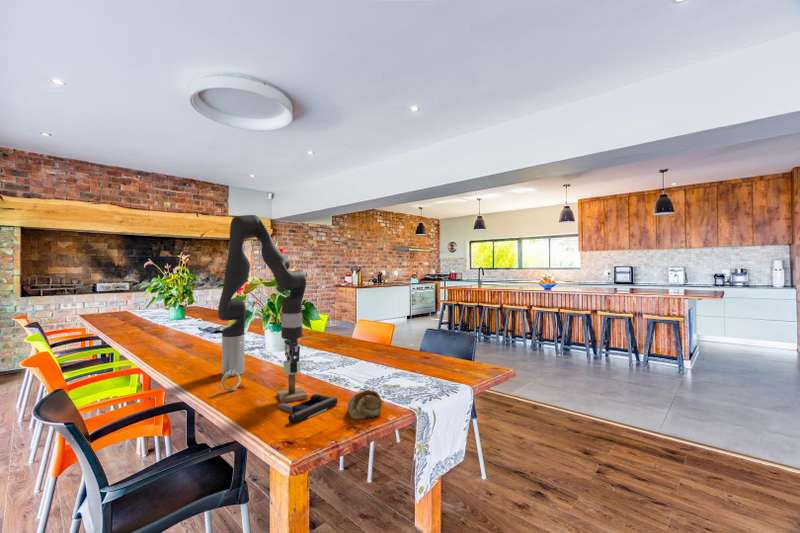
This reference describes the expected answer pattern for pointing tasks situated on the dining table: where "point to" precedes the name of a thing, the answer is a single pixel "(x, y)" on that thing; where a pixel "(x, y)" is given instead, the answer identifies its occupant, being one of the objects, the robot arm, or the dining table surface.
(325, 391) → the dining table surface
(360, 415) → the pastry
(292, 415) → the door handle
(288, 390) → the ring stand
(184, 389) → the dining table surface
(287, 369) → the napkin ring
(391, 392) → the dining table surface
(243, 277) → the robot arm
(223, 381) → the bracelet
